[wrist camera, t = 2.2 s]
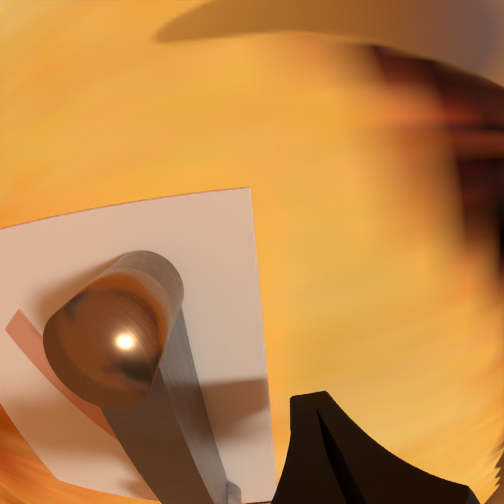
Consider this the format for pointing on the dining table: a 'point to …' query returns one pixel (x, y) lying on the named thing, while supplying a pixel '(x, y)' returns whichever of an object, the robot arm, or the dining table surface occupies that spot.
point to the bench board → (196, 320)
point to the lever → (142, 376)
